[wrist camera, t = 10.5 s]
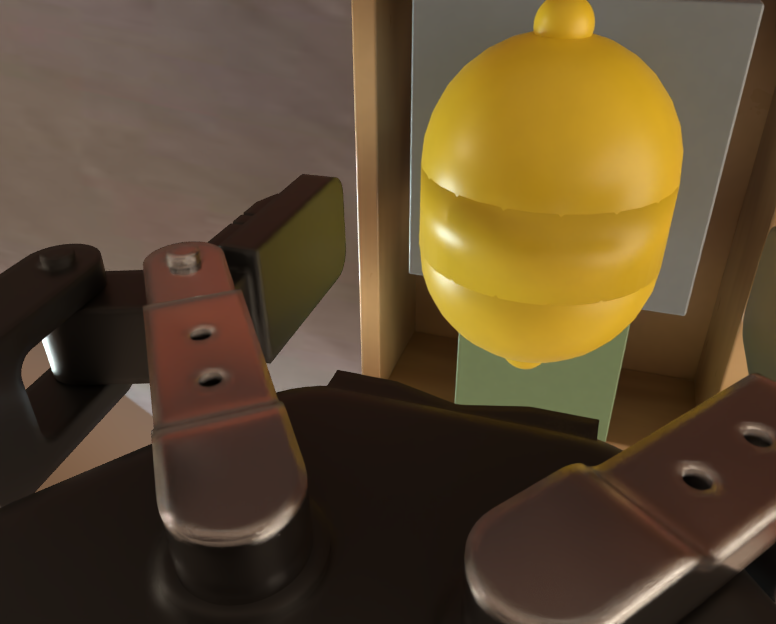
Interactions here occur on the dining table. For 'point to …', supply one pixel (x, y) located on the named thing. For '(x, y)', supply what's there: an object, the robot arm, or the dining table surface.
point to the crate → (649, 329)
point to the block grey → (657, 49)
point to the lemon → (548, 190)
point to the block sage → (544, 381)
